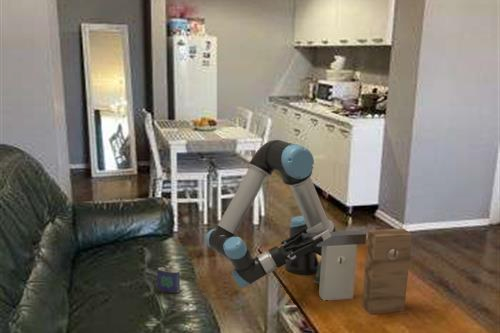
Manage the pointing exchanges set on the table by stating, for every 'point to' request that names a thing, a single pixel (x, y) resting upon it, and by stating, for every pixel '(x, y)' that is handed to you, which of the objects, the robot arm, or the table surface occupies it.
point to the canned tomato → (318, 274)
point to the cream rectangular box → (337, 272)
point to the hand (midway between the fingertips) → (326, 229)
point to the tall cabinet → (386, 270)
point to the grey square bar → (338, 238)
